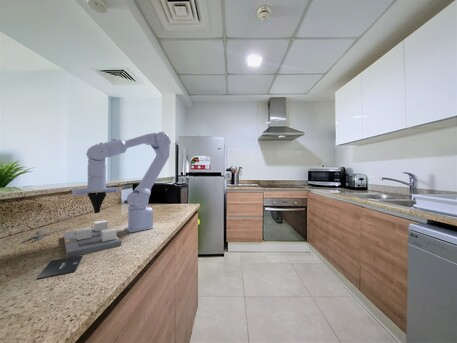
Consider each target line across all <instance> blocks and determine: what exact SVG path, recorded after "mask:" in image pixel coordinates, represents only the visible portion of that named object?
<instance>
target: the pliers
mask: <svg viewBox="0 0 457 343" xmlns="http://www.w3.org/2000/svg"><path fill="white" fill-rule="evenodd" d="M70 227H71V225H69V226H67V227H64V228H61V229H59V230H58V229H57V230H54V231H51V232H47V233H43V234H42V231H44V230H46V228H47V229H48V227H43V228H41V229H39V230H38V231H37V234H35V235H33V236H31V237H29V238H26V239H25V240H23V241H21V243H22V244H25V243H27V242H29V241H31V243H34V242H35V243H36V242H37V241H40V240H42V239H44V238H45V237H47V236H49V235H51V234H56V233H58V231H59V232H63V231H65V230H67V228H68V229H70ZM43 229H44V230H43ZM41 230H42V231H41ZM62 230H63V231H62ZM55 232H56V233H55Z"/></svg>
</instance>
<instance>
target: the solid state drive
mask: <svg viewBox="0 0 457 343" xmlns="http://www.w3.org/2000/svg"><path fill="white" fill-rule="evenodd" d="M82 259H83V255H77V256H73V257H68V258H67V257H64V258H58V259H53V260H51V261H49V263H48V264H47V265H46V266H45V268H44V269H43V270H42V272H41V273H40V274H39V275H38V276H37V277H36V280H41V279H42V280H43V279H47V278H52V277H57V276H62V275H66V274H73V273H76V270H77V269H78V267H79V265H80V263H81V261H82Z"/></svg>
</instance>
